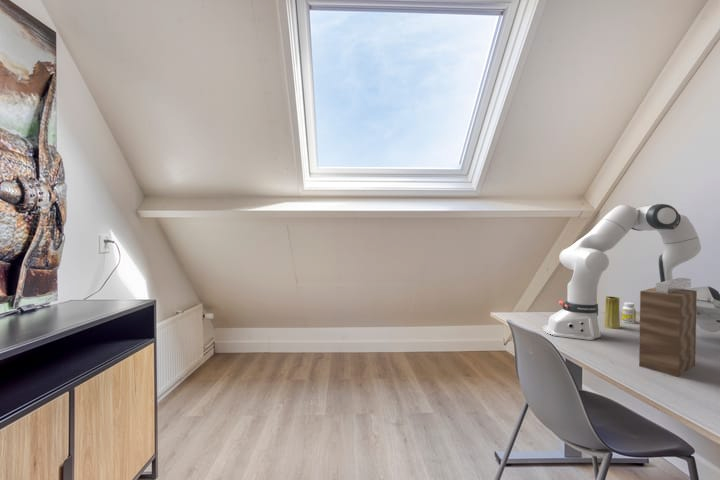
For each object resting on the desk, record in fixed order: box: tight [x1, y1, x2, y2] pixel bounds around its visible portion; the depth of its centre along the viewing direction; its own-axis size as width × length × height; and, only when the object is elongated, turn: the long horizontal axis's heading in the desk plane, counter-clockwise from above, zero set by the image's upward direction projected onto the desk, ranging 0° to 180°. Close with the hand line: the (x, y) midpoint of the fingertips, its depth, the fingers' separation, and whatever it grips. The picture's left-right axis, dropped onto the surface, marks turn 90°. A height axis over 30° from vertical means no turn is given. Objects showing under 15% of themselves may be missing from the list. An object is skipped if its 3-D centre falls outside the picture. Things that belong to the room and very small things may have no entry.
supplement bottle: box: [621, 301, 637, 324], centre depth 164 cm, size 5×5×10 cm
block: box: [655, 277, 692, 294], centre depth 114 cm, size 22×3×3 cm, turn 120°
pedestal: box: [638, 286, 697, 378], centre depth 112 cm, size 16×10×26 cm, turn 120°
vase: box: [603, 296, 621, 330], centre depth 156 cm, size 6×6×14 cm
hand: (692, 297), depth 124 cm, fingers open, 8 cm apart
